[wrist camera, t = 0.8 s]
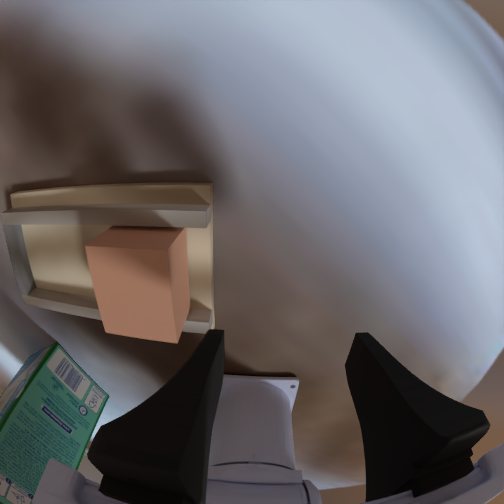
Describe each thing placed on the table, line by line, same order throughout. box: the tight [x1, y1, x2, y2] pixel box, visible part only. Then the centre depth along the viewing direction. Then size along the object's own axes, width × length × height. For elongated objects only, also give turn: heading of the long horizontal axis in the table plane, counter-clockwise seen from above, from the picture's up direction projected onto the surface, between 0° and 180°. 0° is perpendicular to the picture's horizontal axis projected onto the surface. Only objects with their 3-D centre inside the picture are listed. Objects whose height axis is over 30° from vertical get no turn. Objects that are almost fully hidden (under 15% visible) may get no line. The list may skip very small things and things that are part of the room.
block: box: [85, 225, 191, 343], centre depth 16 cm, size 6×5×4 cm
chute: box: [1, 182, 215, 334], centre depth 18 cm, size 11×18×2 cm, turn 87°
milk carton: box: [0, 343, 109, 504], centre depth 15 cm, size 9×9×25 cm
